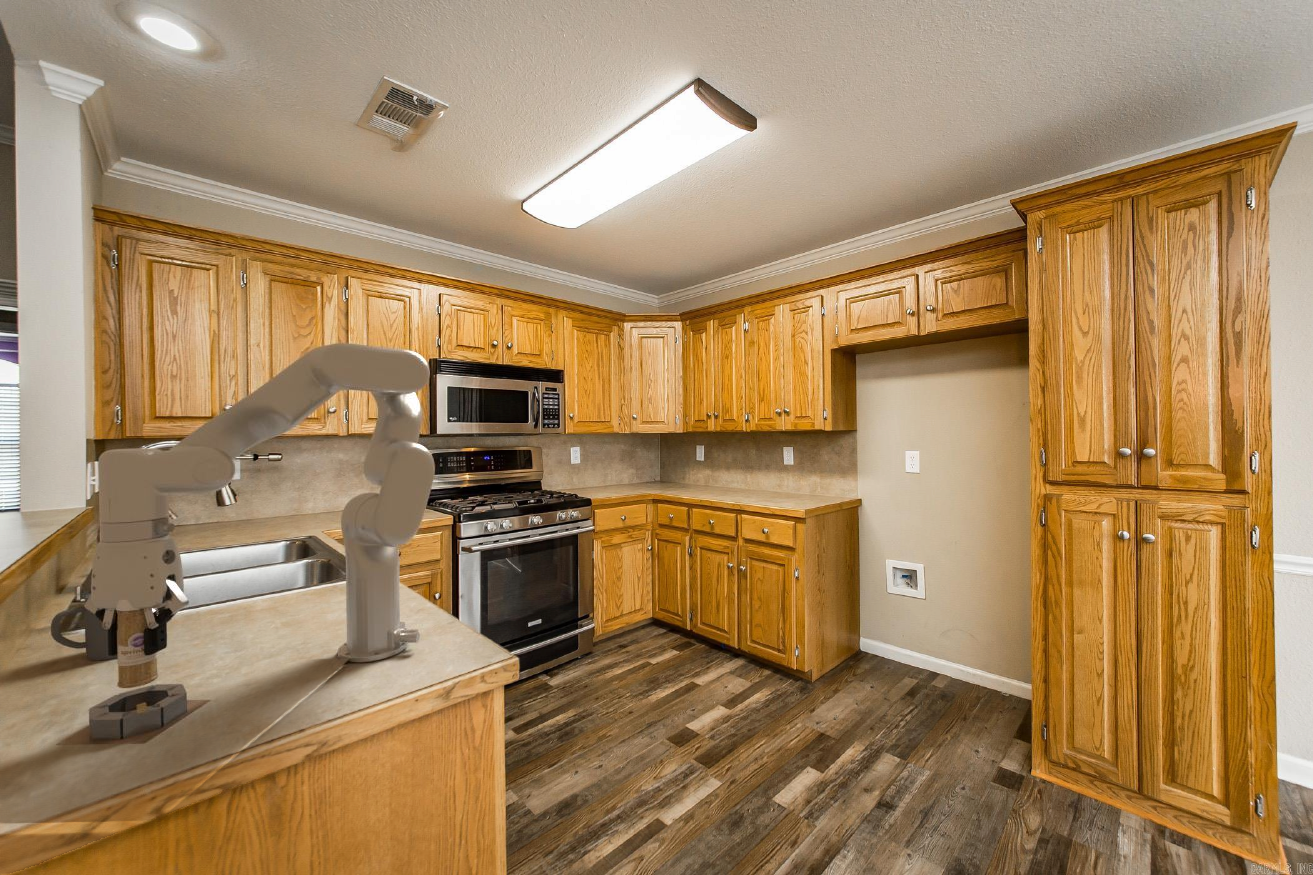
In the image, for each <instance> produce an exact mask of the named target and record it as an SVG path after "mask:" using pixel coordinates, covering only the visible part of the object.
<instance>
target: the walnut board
mask: <svg viewBox="0 0 1313 875" xmlns="http://www.w3.org/2000/svg"><path fill="white" fill-rule="evenodd" d="M211 701H212V699H187V712H186V713H185V714H184V715H182V716H181V717H179V718H178V719H176V720H174V721H173V722H171V723H170V724H168V725H167V726H165V727H161V729H158V730H154V731H151V732H148V733H144V734H141V735H138V736H134V737H131V738H128V739H125V740H123V739H122V740H115V741H91V740H90V734H89V726H87V727H85V728H84V729H82V730H80V731H78V732H76V733H74V734H73V735H71V736H69V737H67V738H65V739H64V740H62V741H60V742H59V743H56V746H60V745H62V746H63V745H64V746H65V745H66V746H67V745H68V746H70V745H72V746H73V745H121V744H122V745H123V744H124V745H125V744H126V745H128V744H129V745H130V744H132V745H133V744H135V745H136V744H146V743H148V742H149V741H150V740H152V739H154V738H156V737H157V736H158V735H160V734H162V733H163V732H165V731H166V730H168V729H169V728H170V727H172V726H174V725H175V724H177V723H178V722H180V721H181V720H182V719H184V718H186V717H188V716H189V715H191V714H192V713H194V712H195V711H197V710H199V709H201V707H203V706H205V705H206V704H208V703H209V702H211Z"/></svg>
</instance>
